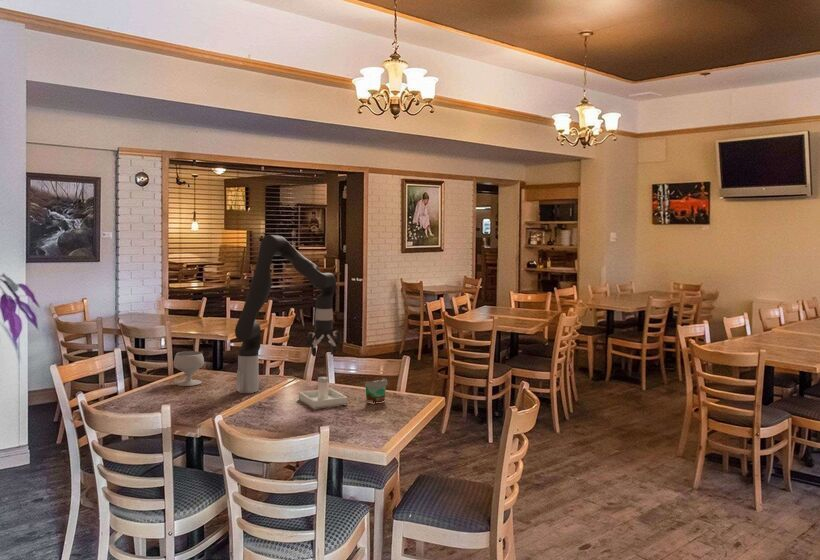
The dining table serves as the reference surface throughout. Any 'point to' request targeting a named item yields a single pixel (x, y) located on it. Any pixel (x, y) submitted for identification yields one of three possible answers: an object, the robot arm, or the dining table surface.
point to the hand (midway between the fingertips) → (323, 355)
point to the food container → (376, 390)
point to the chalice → (188, 366)
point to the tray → (313, 402)
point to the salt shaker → (322, 388)
